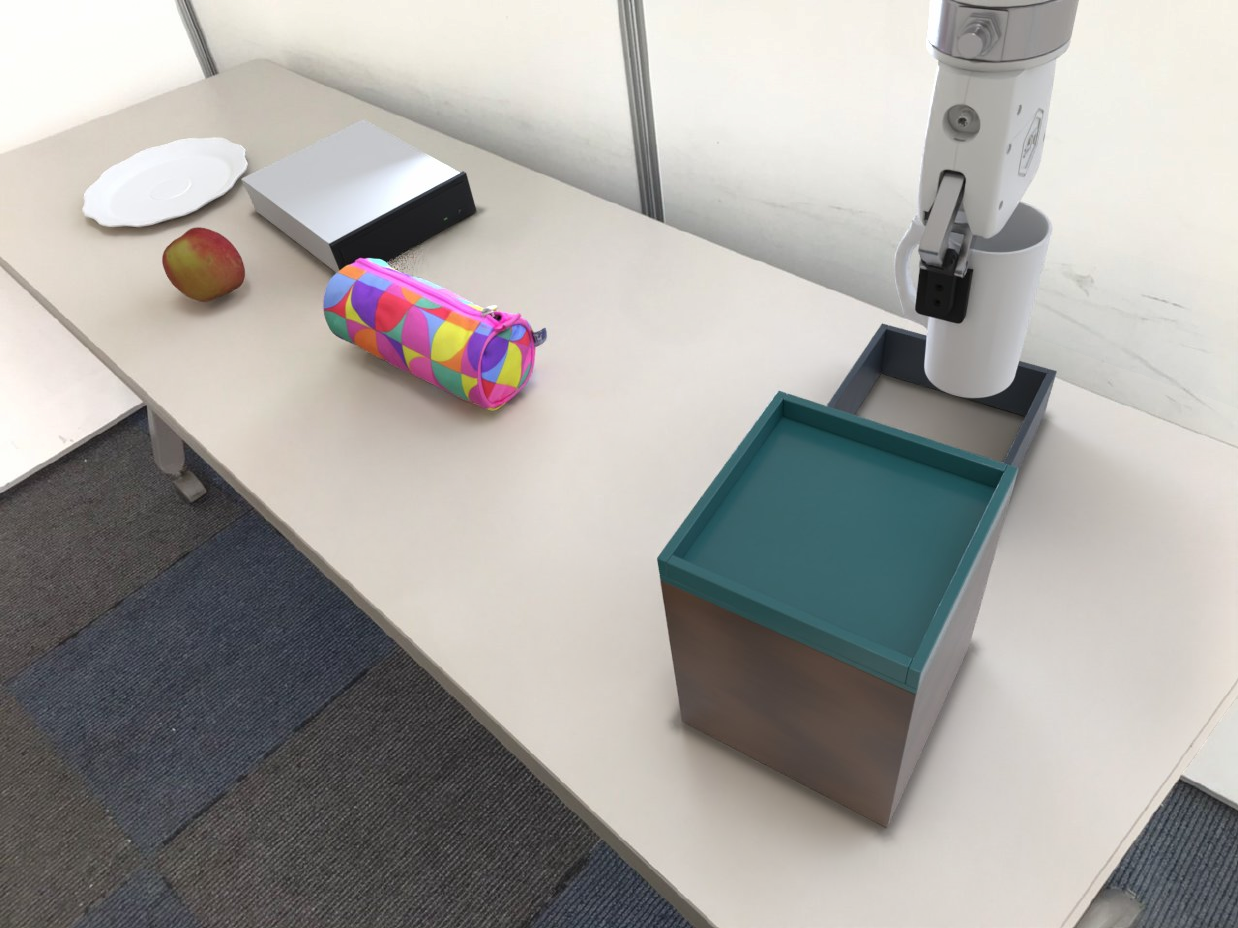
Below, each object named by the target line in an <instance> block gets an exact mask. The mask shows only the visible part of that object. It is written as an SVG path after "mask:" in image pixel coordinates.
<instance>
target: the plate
mask: <svg viewBox="0 0 1238 928" xmlns="http://www.w3.org/2000/svg"><path fill="white" fill-rule="evenodd" d="M246 154H247V150H246V148H244V147H243V145H241V144H238V143H234V142H232V141H230V140H228V139H226V138H224V137H218V136H213V137H204V138H201V137H200V138H198V137H188V138H181V139H177V140H174V141H171V142H168V143H165V144H161V145H156V146H151V147H148V148H146V149H143V150H141V151H138V152H136V153H135V154H133V155H131V156H130V157H128V158H126V159H124V160H122V161H119V162H117V163H116V164H113V165H112V166H110V167H109V168H107V169H106V170H104V171H103V172H102V173H101V175H99V177H98V178H97V180H95V182H93V183H92V184H91V185H90V186H88V187H87V188H86V189H85V191H84V193H83V195H82V196H83V197H82V198H83V201H84V202H83V206H82V208H81V211H82V214H83V215H84V216H85V218H88V219H91V220H93V221H94V220H95V222H97V223H98V224H99V226H103V227H108V228H117V227H135V228H142V227H148V226H153V225H156V224H159V223H164V222H167V221H172V220H175V219H178V218H182V217H185V216H187V215H189V214H192V213H194V212H196V211H198V210H199V209H201V208H204V207H206V206H207V205H208V204H210V203H211V202H213V201H214V200H217V199H218V198H220V197H222V196H224V195H225V194H226V193H228V192H229V191H230V190H231V189H233V187H234V185H236V182H237V180H238V179H239V178H240V177H241V176H242V175H243V174H244V173H245V172H246V171H247V169H248V166H249V163H248V161H247V159H246Z"/></svg>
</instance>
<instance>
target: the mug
mask: <svg viewBox="0 0 1238 928" xmlns="http://www.w3.org/2000/svg"><path fill="white" fill-rule="evenodd" d="M955 220H957V221H962V222H967V223H968V221H967V218H966V214H965V212H960V211H958V213H957V216H956V219H955ZM925 227H926V226H924V225H923V224H922V223H921V222H920V221H919V219H918V216H917V214H916V215H915V216H914V217H912V219H911V223H910V226H909V227H908V228H907V230H906V232H905V233H904V234H903V236H902V238H901V239H900V241H899V243H898V246H897V247H896V250H895V253H894V260H893V272H894V273H893V274H894V281H895V286H896V291H897V295H898V298H899V302H900V306H901V310H902V313H903V316H904V318H905V319H907V320H910V321H913V322H915V323H918V324H920V325H921V326H923V327H924V328H925V329H926V335H927V339H926V352H925V363H924V369H925V373H926V376H927V377H928V379H929V380H930V381H931V383H932V384H933V385H935V386H936V387H937V388H939V389H940V390H942V391H944V392H943V393H946V394H948V395H952V396H956V397H960V398H963V397H966V398H982V397H988V396H992V395H995V394H998V393H1000V392H1002V391H1003V390H1005V389H1006V388H1007V387H1009V386H1010V384H1011V383H1012V381H1013V380H1014V377H1015V374H1016V370H1017V367H1018V363H1019V361H1021V360H1020V359H1021V356H1022V352H1023V348H1024V344H1025V340H1026V337H1027V332H1028V328H1029V324H1030V321H1031V317H1032V313H1033V308H1034V304H1035V301H1036V297H1037V293H1038V289H1039V285H1040V282H1041V277H1042V273H1043V270H1044V267H1045V266H1044V265H1045V261H1046V257H1047V253H1048V250H1049V245H1050V241H1051V236H1052V234H1053V223H1052V221H1051V219H1050V218H1049V216H1047V214H1046V213H1044V212H1043V211H1042V210H1041V209H1039V208H1037V207H1036V206H1034V205H1032V204H1029V203H1026V202H1023V201H1020V202H1019V203H1018V205H1017V207H1016V208H1015V210H1014V211H1013V213H1012V215H1011V216H1010V218H1009V219H1008V221H1007V222H1006V224H1005V225H1004V227H1003V228H1002V229H1001V231H1000V232H998V233H997V234H996V235H994V236H992V237H991V238H983V236H979V235H977V237H976V240H975V244H974V248H973V251H972V255H971V259H970V262H969V266H968V268H969V269H973V275H972V282H971V288H970V294H969V300H968V306H967V312H966V317H965V319H964V320H963V322H962V323H960V324H957V323H952V322H948V321H944V320H940V319H936V318H932V317H928V316H924V315H920V314H918V313H917V312H916V311H915V304H916V295H917V290H916V289H915V286H914V284H913V280H912V277H911V270H910V264H911V263H910V262H911V257H912V254H913V252H914V250H915V249H916V247H917V246H919V244H920V241H921V238H922V236H923V233H924V230H925ZM963 236H964V235H963V234H958V233H953V232H951V233H950V236H949V241H948V243H949V247H948V248H951V249H955V251H956V252H957V253H958V255H959V251H960V248H961V244H962V240H963ZM942 391H941V392H942ZM966 398H965V399H966Z"/></svg>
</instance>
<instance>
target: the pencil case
mask: <svg viewBox="0 0 1238 928" xmlns="http://www.w3.org/2000/svg"><path fill="white" fill-rule="evenodd" d="M322 301H323V304H322V309H323V315H324V320H325V323H326V324H327V326H328V329H329V330H330V332H331V333H332V334H333V335H334V336H335V337H337V338H339V339H341V340H343V341H346V342H348V343H349V344H352V345H355V346H357V347H359V348H360V349H362V350H364V352H367V353H369V354H371V355H373V356H374V357H377V358H379V360H380V359H381V360H383V361H385V362H387V363H388V364H390V365H391V366H393V367H396V368H398V369H400V370H401V371H405V372H407V373H409V374H411V375H413V376H414V377H416V378H419V379H420V380H423V381H426V382H428V383H429V384H431V385H434V386H436V387H437V388H439V389H441V390H443V391H445V392H447V393H448V394H450V395H453V396H454V397H456V398H458V399H461V400H462V401H465V402H467V403H469V404H473V405H477V406H479V407H480V408H483V409H485V410H487V411H497V410H499V409H501V408H502V407H503V406H504V405H506V403H508V402H509V401H510V400H512V399H513V398H514V397H516V395H517V394H518V393H519V392H521V390H523V388H524V387H525V386H526V385H527V383H528V382H529V380H530V378H531V376H532V373H533V370H534V366H535V360H536V348H537V347H540V346H541V345H543V344H544V343H545V342H547V338H548V331H547V328H546V327H543V328H542V329H540V330H538V331H534V330H533V329H534V328H533V327H532V326H531V324H530V322H529V321H527V319H525V318H524V317H522V314H521V313H520V312H517V313H516V314H514V313H510V312H505V311H500V310H499V311H498V310H497V309H498V308H499V305H498V304H497V305H488V306H486V307H481V306H479V304H476V303H474V302H473V301H470V300H468V299H466V298H464V297H463V296H460V295H458V294H457V293H455V292H453V291H452V290H449V289H447V288H445V287H443V286H440V285H438V284H436V283H433V282H431V281H430V280H426V279H424V278H420V277H416V276H413V275H411V274H408V273H404V272H401V271H400V270H397V269H395V268H393V267H392V266H390V265H389V263H388V262H385V261H383V260H381V259H372V258H366V259H363V258H359V259H357V260H355V263H353V264H350V265H347V266H345V267H344V268H342V269H341V270H340V271H338V272H337V273H336V272H335V274H334V275H332V277H331V278H330V279H329V281H328V283H327V284H326V287H325V290H324V294H323V299H322Z"/></svg>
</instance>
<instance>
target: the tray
mask: <svg viewBox="0 0 1238 928" xmlns="http://www.w3.org/2000/svg"><path fill="white" fill-rule="evenodd" d="M1018 473H1019V470H1018V468H1017V467H1014V466H1011V465H1007V464H1005V463H1003V462H1002V461H998V460H995V459H993V458H990V457H986V456H983V455H980V454H977V453H975V452H970V451H967V450H965V449H961V448H958V447H955V446H952V445H949V444H945V443H942V442H939V441H936V440H933V439H930V438H928V437H924V436H921V435H917V434H914V433H912V432H908V431H906V430H902V429H900V428H896V427H893V426H891V425H887V424H883V423H881V422H878V421H874V420H871V419H868V418H865V417H862V416H859V415H856V414H855V415H853V414H850V413H847V412H844V411H841V410H837V409H834V408H831V407H828V406H827V405H824V404H822V403H818V402H815V401H812V400H809V399H806V398H803V397H800V396H797V395H794V394H791V393H787V392H784V391H781V390H777V391H776V393H775V394H774V396H773V397H772V399H771V400H770V401H769V402H768V404H767V405H766V407H765V408H764V409H763V411H762V412H761V414H760V415H759V416H758V418H757V419H756V421H755V422H754V424H753V425H752V426H751V428H750V429H749V430H748V432H747V433H746V434H745V436H744V437H743V438H742V440H741V442H739V444H738V446H736V448H735V449H734V451H733V452H732V454H731V455H730V457H729V458H728V459H727V461H726V462H725V463H724V465H723V466H722V467H721V469H720V470H719V471H718V473H717V474H716V475H715V477H714V478H713V480H712V481H711V482H710V484H709V486H708V487H707V488H706V489H705V491H704V493H703V494H702V495H701V496H700V497H699V499H698V500H697V502H696V503H695V504H694V506H693V508H692V509H691V510H690V512H689V513H688V514H687V516H686V517H685V518H684V520H683V521H682V522H681V524H680V525H679V527H678V528H677V529H676V531H675V532H674V534H673V535H672V536H671V538H670V539H669V541H668V542H667V543H666V545H665V546H664V548H662V550H661V552H660V553H659V555H658V556H657V557H656V562H657V568H658V574H659V581H660V580H662V581H664V582H666V583H668V584H670V585H673V586H675V587H677V588H679V589H682V590H684V591H686V592H688V593H691V594H693V595H695V596H697V597H699V598H702V599H704V600H706V601H708V602H711V603H713V604H715V605H717V606H720V607H722V608H724V609H726V610H728V611H731V612H733V613H735V614H737V615H740V616H742V617H744V618H746V619H748V620H751V621H753V622H755V623H757V624H760V625H762V626H764V627H766V628H769V629H771V630H773V631H775V632H777V633H780V634H782V635H784V636H786V637H789V638H791V639H793V640H795V641H798V642H800V643H802V644H804V645H806V646H809V647H811V648H813V649H815V650H818V651H820V652H822V653H824V654H827V655H829V656H831V657H833V658H835V659H838V660H840V661H842V662H844V663H847V664H849V665H851V666H853V667H856V668H858V669H860V670H862V671H864V672H867V673H869V674H871V675H873V676H876V677H878V678H880V679H882V680H885V681H887V682H889V683H891V684H893V685H896V686H898V687H900V688H902V689H905V690H907V691H909V692H911V693H913V694H917V692H918V690H919V688H920V686H921V684H922V682H923V679H924V677H925V675H926V673H927V671H928V669H929V667H930V665H931V663H932V660H933V658H934V656H935V654H936V652H937V650H938V648H939V646H940V643H941V641H942V639H943V637H944V635H945V633H946V631H947V629H948V627H949V624H950V622H951V620H952V618H953V616H954V614H955V612H956V610H957V608H958V605H959V603H960V601H961V599H962V597H963V595H964V593H965V591H966V589H967V586H968V584H969V582H970V580H971V578H972V576H973V574H974V572H975V570H976V567H977V565H978V563H979V561H980V559H981V557H982V555H983V553H984V550H985V548H986V546H987V544H988V542H989V540H990V538H991V536H992V534H993V531H994V529H995V527H996V525H997V523H998V521H999V519H1000V517H1001V515H1002V512H1003V510H1004V508H1005V506H1006V504H1007V502H1008V500H1009V498H1010V496H1011V497H1012V495H1011V493H1012V494H1013V490H1014V486H1015V484H1016V480H1017V476H1018ZM1010 499H1011V498H1010Z"/></svg>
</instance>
